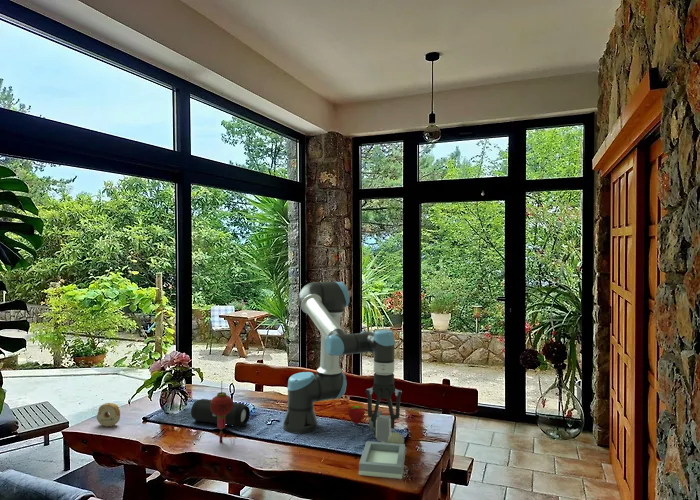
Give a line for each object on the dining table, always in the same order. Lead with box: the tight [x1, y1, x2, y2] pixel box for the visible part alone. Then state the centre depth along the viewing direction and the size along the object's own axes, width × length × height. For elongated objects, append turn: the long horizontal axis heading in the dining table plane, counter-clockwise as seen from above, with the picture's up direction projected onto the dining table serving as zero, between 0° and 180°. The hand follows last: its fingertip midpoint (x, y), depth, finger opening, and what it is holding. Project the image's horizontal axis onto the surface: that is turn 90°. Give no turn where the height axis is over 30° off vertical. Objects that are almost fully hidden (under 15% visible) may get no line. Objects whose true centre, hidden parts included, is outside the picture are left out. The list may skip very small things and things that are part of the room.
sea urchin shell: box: [380, 431, 405, 444], centre depth 189 cm, size 9×8×8 cm
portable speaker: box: [190, 398, 251, 427], centre depth 212 cm, size 26×10×10 cm, turn 73°
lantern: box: [210, 382, 233, 444], centre depth 190 cm, size 10×10×30 cm
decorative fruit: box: [348, 402, 366, 426], centre depth 212 cm, size 6×8×10 cm
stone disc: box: [96, 402, 121, 427], centre depth 208 cm, size 10×4×10 cm, turn 79°
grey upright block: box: [376, 415, 390, 442], centre depth 172 cm, size 4×7×7 cm, turn 170°
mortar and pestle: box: [368, 410, 383, 439], centre depth 198 cm, size 11×9×12 cm
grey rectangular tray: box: [358, 440, 406, 480], centre depth 172 cm, size 15×20×4 cm
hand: (383, 436), depth 172 cm, fingers closed on grey upright block, 4 cm apart
